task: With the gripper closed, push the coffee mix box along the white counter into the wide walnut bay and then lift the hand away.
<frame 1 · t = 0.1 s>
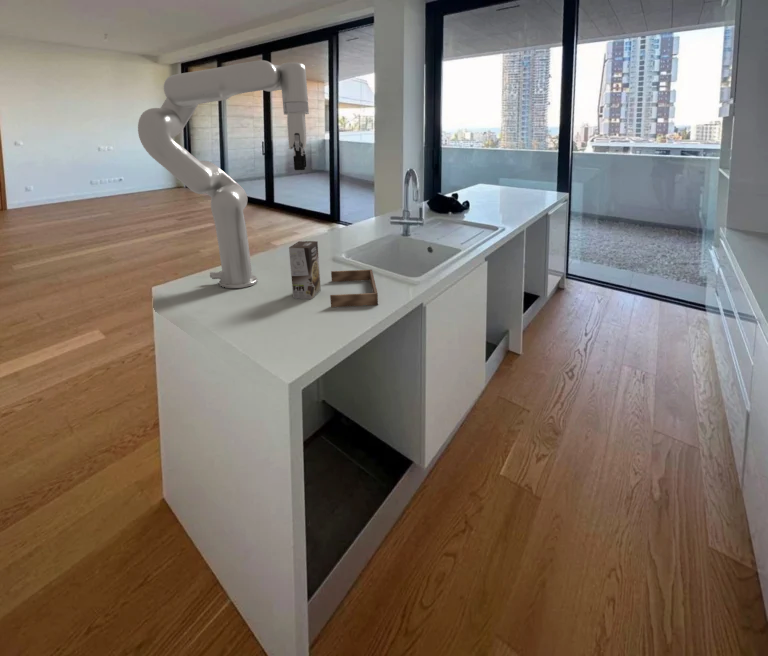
hand: (300, 168, 156), 37 cm above the countertop, tool pointing down, fingers open, 9 cm apart
walnut bay: (351, 292, 158), on the countertop
coffee box: (307, 294, 157), on the countertop
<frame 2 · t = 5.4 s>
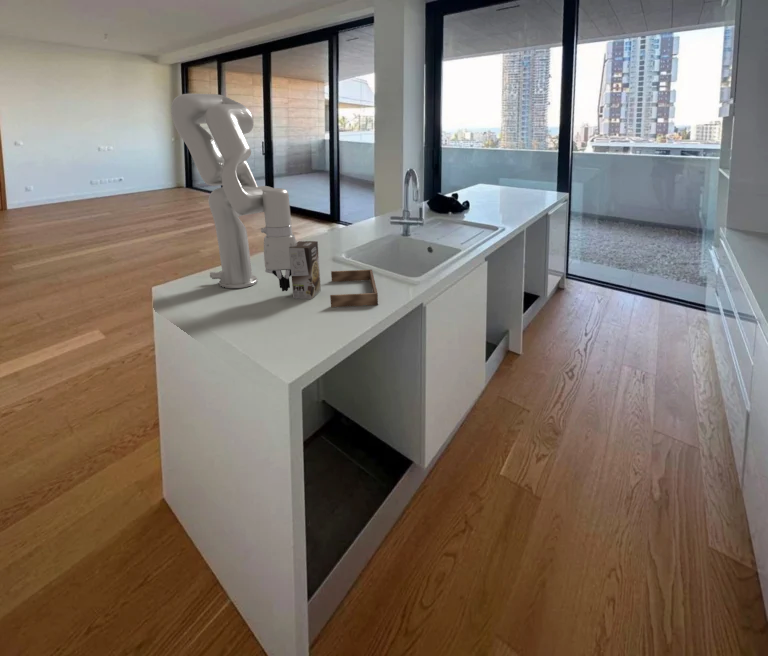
hand: (285, 289, 156), 2 cm above the countertop, tool pointing down, fingers closed
coffee box: (307, 294, 157), on the countertop, touching gripper
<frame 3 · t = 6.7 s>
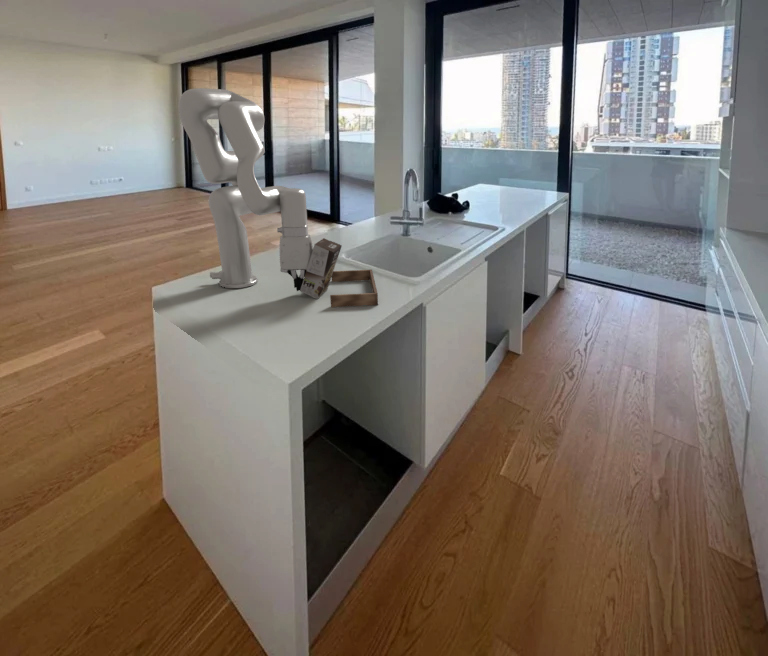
hand: (299, 289, 156), 2 cm above the countertop, tool pointing down, fingers closed
coffee box: (313, 291, 157), point 1 cm above the countertop, touching gripper
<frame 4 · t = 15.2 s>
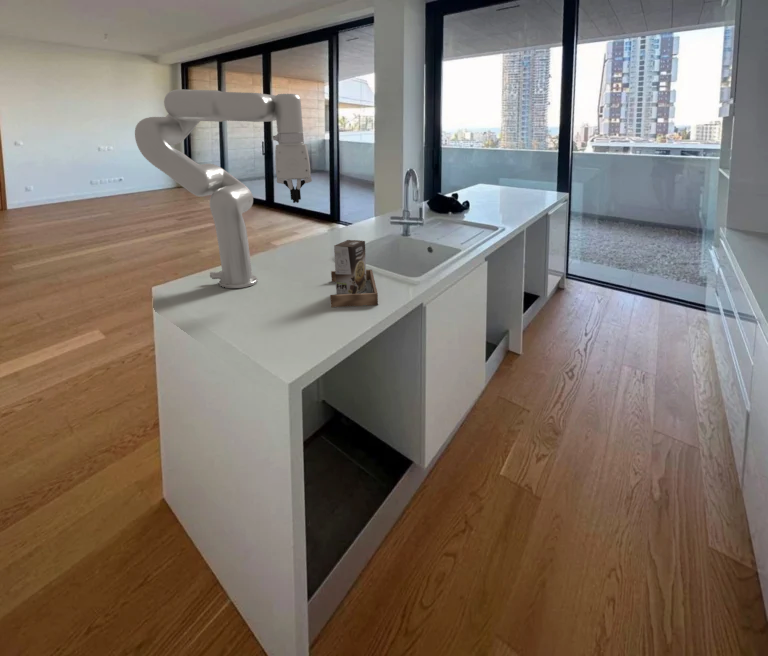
hand: (296, 202, 156), 27 cm above the countertop, tool pointing down, fingers closed
coffee box: (352, 293, 157), on the countertop
at the end: coffee box inside the target area on the walnut bay (0.8 cm from its centre), point 0.0 cm above the walnut bay's base; coffee box tilted 0° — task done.
